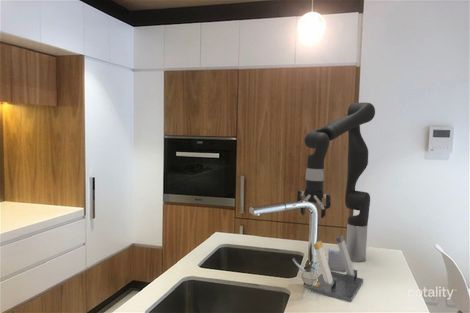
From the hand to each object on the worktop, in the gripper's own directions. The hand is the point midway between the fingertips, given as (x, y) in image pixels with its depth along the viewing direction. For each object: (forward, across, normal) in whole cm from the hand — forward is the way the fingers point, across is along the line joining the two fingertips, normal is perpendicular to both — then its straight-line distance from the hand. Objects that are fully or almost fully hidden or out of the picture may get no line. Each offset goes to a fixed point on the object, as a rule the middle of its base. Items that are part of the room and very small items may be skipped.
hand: (312, 216), depth 153 cm
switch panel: (+25, -14, +6) cm, 29 cm away
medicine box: (+25, -9, -11) cm, 29 cm away
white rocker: (+23, -13, +13) cm, 30 cm away
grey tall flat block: (+23, -18, 0) cm, 29 cm away
